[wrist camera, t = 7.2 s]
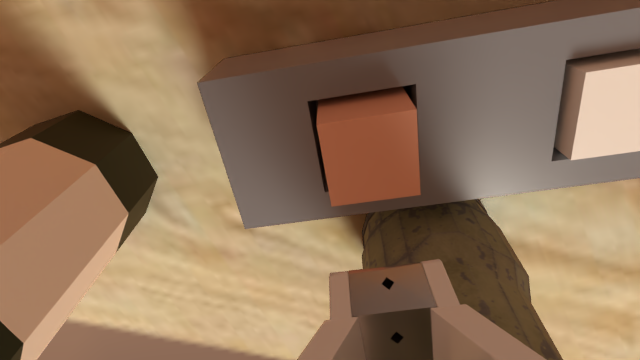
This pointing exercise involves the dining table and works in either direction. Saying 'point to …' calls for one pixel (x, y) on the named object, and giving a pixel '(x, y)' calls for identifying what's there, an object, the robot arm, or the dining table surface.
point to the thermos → (462, 262)
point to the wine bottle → (62, 221)
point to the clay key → (369, 146)
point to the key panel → (419, 107)
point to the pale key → (600, 106)
